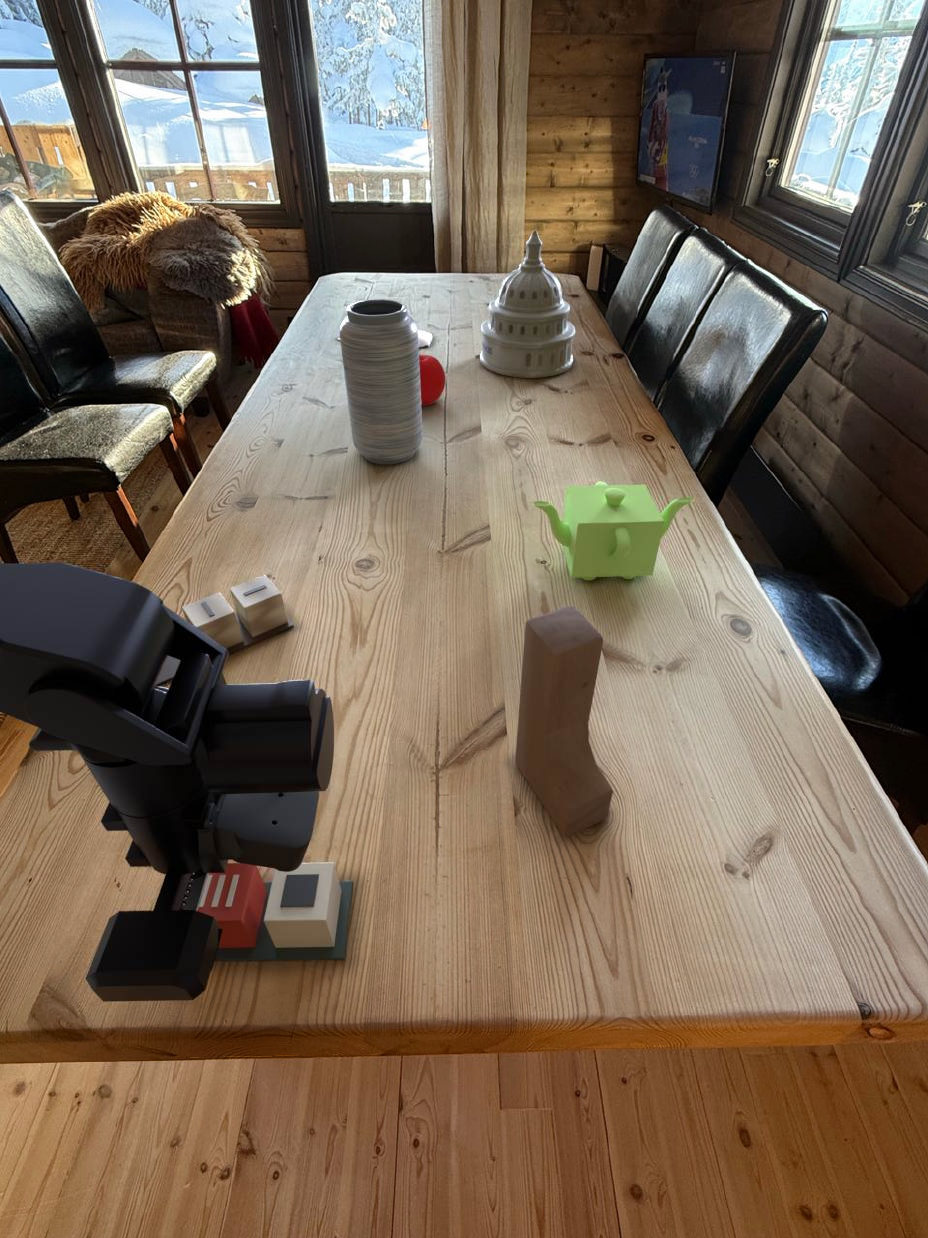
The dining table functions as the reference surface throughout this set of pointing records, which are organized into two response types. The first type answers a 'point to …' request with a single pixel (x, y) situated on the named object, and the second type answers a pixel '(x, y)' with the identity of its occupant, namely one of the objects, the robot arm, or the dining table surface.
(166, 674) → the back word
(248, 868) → the white-striped red block
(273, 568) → the dining table surface
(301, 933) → the white cube on base
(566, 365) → the dome
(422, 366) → the fruit
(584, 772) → the wooden block
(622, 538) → the teapot
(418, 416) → the vase
